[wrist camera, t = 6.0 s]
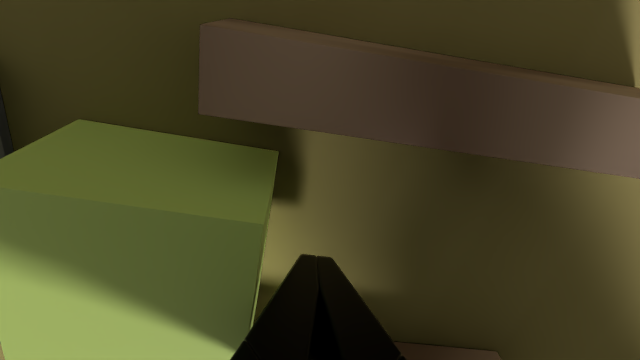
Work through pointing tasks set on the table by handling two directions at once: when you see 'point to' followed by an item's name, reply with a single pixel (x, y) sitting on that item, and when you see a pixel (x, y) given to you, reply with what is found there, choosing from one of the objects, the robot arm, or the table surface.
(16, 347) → the lime block
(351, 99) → the lane rails
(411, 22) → the table surface
